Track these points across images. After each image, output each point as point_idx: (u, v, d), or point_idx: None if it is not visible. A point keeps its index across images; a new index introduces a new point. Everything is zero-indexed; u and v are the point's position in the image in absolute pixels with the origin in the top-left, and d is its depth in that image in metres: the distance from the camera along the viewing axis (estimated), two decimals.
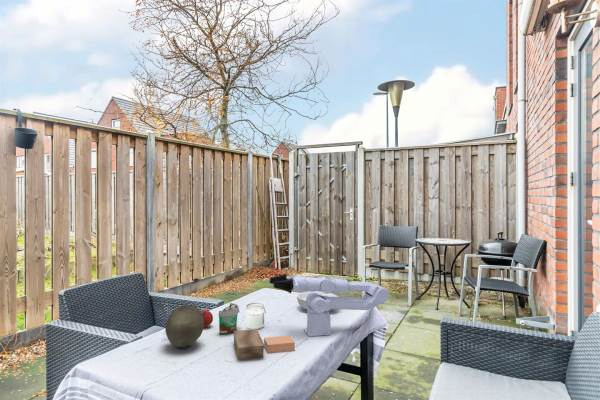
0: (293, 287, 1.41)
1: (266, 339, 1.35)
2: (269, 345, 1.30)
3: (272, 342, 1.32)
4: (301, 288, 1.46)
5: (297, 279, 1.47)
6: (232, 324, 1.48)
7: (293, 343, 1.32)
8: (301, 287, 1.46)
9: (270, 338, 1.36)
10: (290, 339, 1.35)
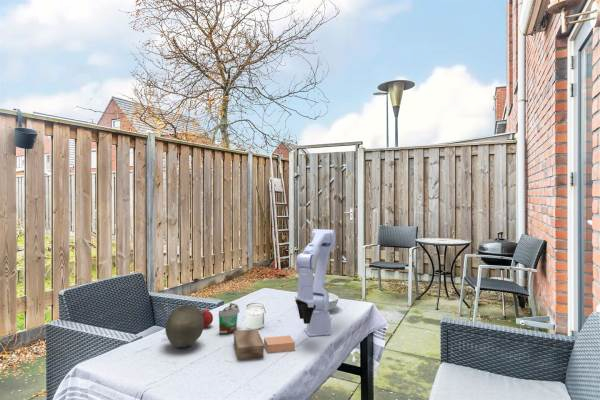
0: (310, 306, 1.31)
1: (266, 339, 1.35)
2: (269, 345, 1.30)
3: (272, 342, 1.32)
4: (310, 290, 1.35)
5: (301, 296, 1.35)
6: (233, 324, 1.48)
7: (293, 343, 1.32)
8: (309, 291, 1.35)
9: (270, 338, 1.36)
10: (290, 339, 1.35)
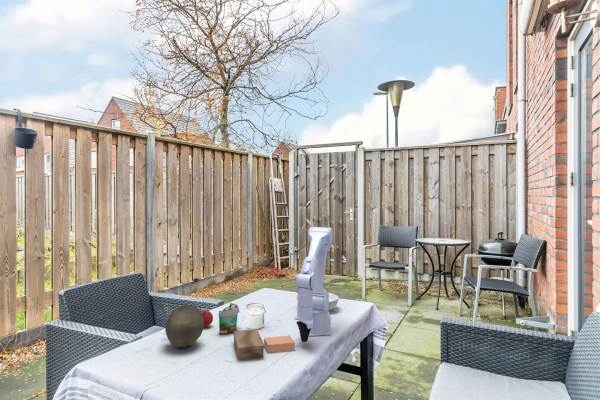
0: None
1: (266, 339, 1.35)
2: (269, 345, 1.30)
3: (272, 342, 1.32)
4: (310, 311, 1.35)
5: (300, 316, 1.35)
6: (232, 324, 1.48)
7: (293, 343, 1.32)
8: (309, 311, 1.35)
9: (270, 338, 1.36)
10: (290, 339, 1.35)
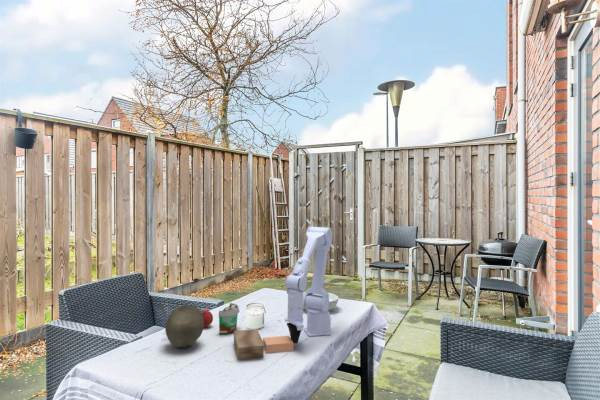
0: (300, 329, 1.29)
1: (265, 339, 1.34)
2: (268, 345, 1.30)
3: (271, 342, 1.32)
4: (300, 312, 1.34)
5: (291, 318, 1.33)
6: (233, 324, 1.48)
7: (292, 343, 1.32)
8: (299, 313, 1.34)
9: (269, 338, 1.35)
10: (289, 339, 1.35)
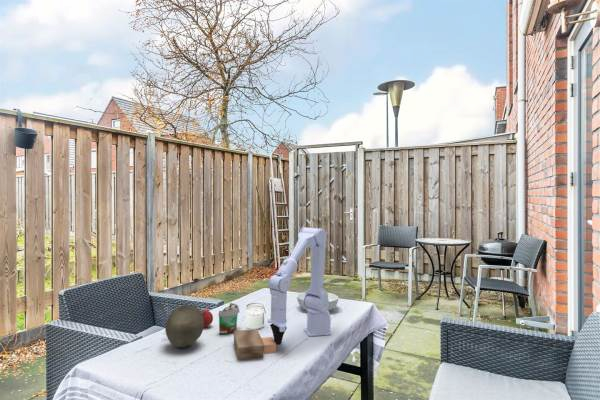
0: None
1: None
2: None
3: None
4: (283, 314, 1.32)
5: (273, 319, 1.32)
6: (232, 324, 1.48)
7: (275, 345, 1.30)
8: (282, 314, 1.32)
9: None
10: (272, 341, 1.33)
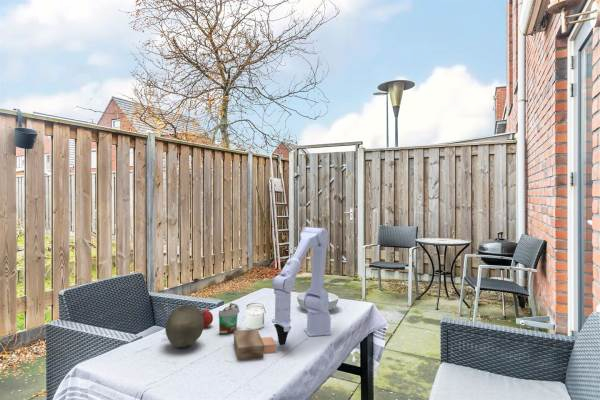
0: None
1: None
2: None
3: None
4: (287, 313, 1.33)
5: (278, 319, 1.32)
6: (233, 324, 1.48)
7: (274, 345, 1.30)
8: (286, 314, 1.32)
9: None
10: (272, 341, 1.33)
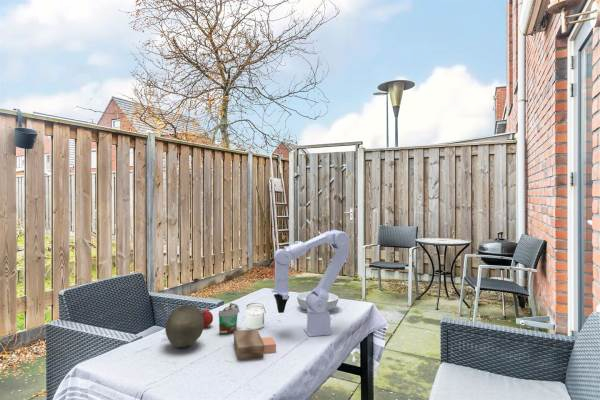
0: (285, 298, 1.40)
1: None
2: None
3: None
4: (286, 284, 1.45)
5: (277, 289, 1.44)
6: (232, 324, 1.48)
7: (274, 345, 1.30)
8: (285, 284, 1.44)
9: None
10: (272, 341, 1.33)
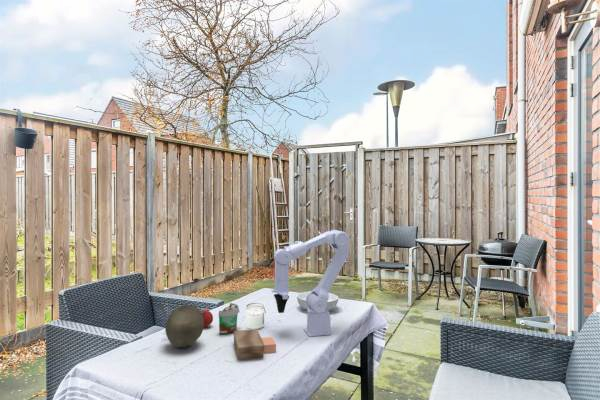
0: (285, 298, 1.40)
1: None
2: None
3: None
4: (286, 284, 1.45)
5: (277, 289, 1.44)
6: (232, 324, 1.48)
7: (274, 345, 1.30)
8: (285, 284, 1.44)
9: None
10: (272, 341, 1.33)
